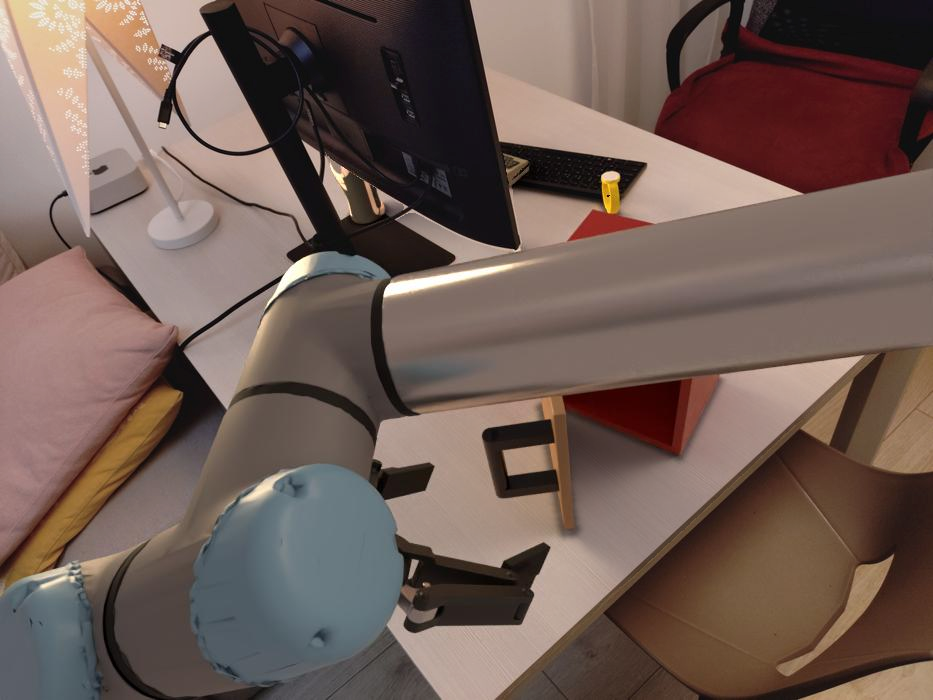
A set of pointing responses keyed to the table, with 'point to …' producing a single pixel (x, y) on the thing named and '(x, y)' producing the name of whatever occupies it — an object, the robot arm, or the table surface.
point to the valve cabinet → (644, 406)
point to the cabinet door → (527, 436)
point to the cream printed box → (514, 167)
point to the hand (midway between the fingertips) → (481, 514)
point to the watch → (611, 191)
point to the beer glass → (358, 195)
